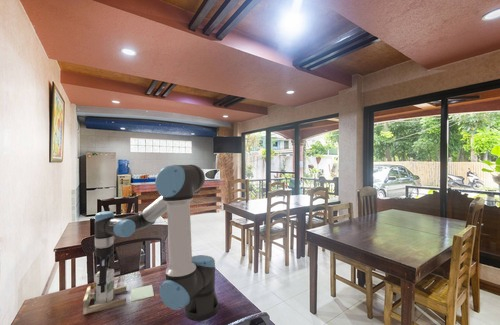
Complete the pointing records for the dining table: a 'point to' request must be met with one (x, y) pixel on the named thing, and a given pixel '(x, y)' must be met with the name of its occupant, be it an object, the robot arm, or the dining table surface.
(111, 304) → the wooden channel
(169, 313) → the dining table surface
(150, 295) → the sage mat
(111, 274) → the syrup box
